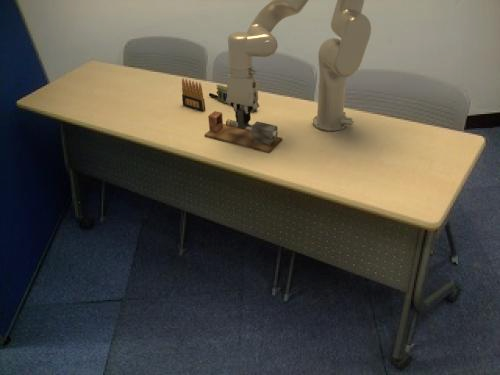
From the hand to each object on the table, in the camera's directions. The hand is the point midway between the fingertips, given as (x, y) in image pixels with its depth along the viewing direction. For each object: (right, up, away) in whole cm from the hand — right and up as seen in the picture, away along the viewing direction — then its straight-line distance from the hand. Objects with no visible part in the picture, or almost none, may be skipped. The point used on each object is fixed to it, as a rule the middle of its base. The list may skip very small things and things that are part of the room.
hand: (243, 120), depth 168 cm
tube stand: (0, -6, +4) cm, 7 cm away
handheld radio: (-5, +10, +28) cm, 30 cm away
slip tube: (+3, -4, +1) cm, 5 cm away
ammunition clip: (-20, +9, +26) cm, 34 cm away
